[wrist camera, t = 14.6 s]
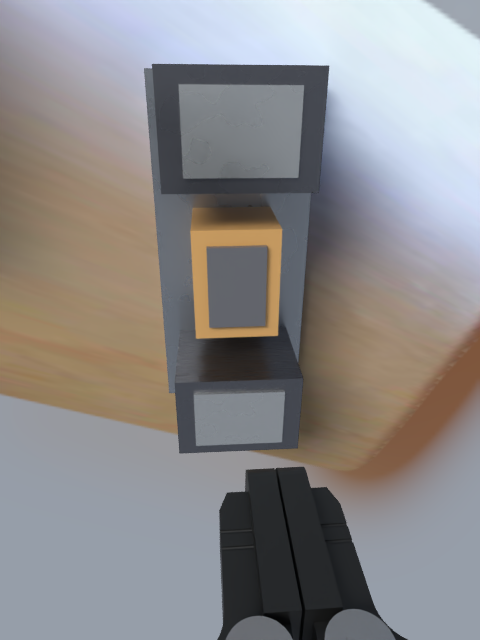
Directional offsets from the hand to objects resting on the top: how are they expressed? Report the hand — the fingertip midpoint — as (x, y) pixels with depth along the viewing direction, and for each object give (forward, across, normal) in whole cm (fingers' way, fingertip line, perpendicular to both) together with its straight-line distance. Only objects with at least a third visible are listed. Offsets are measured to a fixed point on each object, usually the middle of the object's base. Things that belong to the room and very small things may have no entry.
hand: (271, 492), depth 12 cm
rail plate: (+20, 0, 0) cm, 20 cm away
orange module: (+18, 0, 0) cm, 18 cm away
